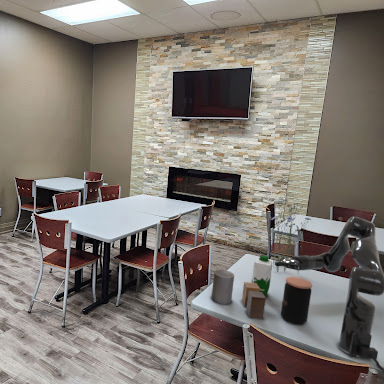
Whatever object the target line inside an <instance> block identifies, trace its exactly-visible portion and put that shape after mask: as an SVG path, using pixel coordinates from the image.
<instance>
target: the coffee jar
mask: <svg viewBox="0 0 384 384" xmlns="http://www.w3.org/2000/svg"><path fill="white" fill-rule="evenodd" d="M312 287H313V283H312V282H311V281H309V280H308V279H305V278H302V277H298V276H287V277H286V278H285V283H284V288H283V296H282V302H281V309H280V315H281V317H282V319H283V320H284V321H286V322H287V323H289V324H293V325H297V326H301V325H305V324H306V323H307V322H308V316H309V311H310V310H309V309H310V303H311V296H312Z"/></svg>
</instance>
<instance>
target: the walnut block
mask: <svg viewBox="0 0 384 384" xmlns="http://www.w3.org/2000/svg"><path fill="white" fill-rule="evenodd" d="M266 299H267V297H266V298H265V296H264V294H263V293H262V292H255V291H249V293H248V301H247V307H246V314H247V315H248V318H251V319H258V320H259V319H260V320H264V315H265V308H266Z"/></svg>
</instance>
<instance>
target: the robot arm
mask: <svg viewBox="0 0 384 384" xmlns="http://www.w3.org/2000/svg"><path fill="white" fill-rule="evenodd" d="M349 236H351V237H353V238H356V240H355V241H353V242H352V244H351V246H350V242H349ZM350 247H351V248H350ZM350 249H351V258H352V260H353V261H354V262H355V263H356V264H357V265H358V266H353V267H351V269H350V272H349V279H348V288H347V296H346V302H345V307H344V312H343V317H342V324H341V329H340V334H339V335H340V336H339V342H338V345H337V346H338V349H339V350H341V351H342V352H343V353H345V354H346V355H348V356H349V357H350V358H351V357H352V358H360V359H367V360H369V359H370V360H372V361H374V363H375V365H376V366H377V367H378V368H379V369H380V370H381V371H382V372H384V368H383V367H382V365H381V364H380V363H379V361H378V359H377V358H378V354H379V351H378V350H377V349H376V348H375V347H371V343H372V338H373V336H372V330H373V324H374V320H375V316H376V315H375V314H376V305H375V304H374V303H373V302H372V301H370V300H368V299H366V298H365V297H363V296H361V295H360V293H361V294H365V295H368V296H369V295H370V296H375V297H379V296H382V295H383V294H384V271H383V268H382V265H381V263H380V255H379V249H378V246H377V240H376V225H375V223H374V222H372V221H369V220H367V219H364V218H361V217H358V216H356V215H355V216H351V217H350V218H349V219H348V220H347V221H346V222H345V224H344V226H343V228H342V229H341V231H340V234H339V236H338V237H337V240H336V241H335V243H333V245H332V247H331V248H330V249H329V251H326V252H323V253H321V254H318V255H294V256H293V257H292V258H289V259H286V256H284V257H282V258H281V257H280V258H279V260H280V261H278V260H276V262H275V261H274V267H276V266H278V267H283V268H284V267H286V269H289V270H295V271H298V270H299V271H311V270H321V269H323V268H325V270H326V271H328V272H329V273H335V272H337V271H338V270H340V269H341V267H342V264H343V262H344V261H343V260H344V258H345V257H346V256H347V255H348V253H349V252H350Z"/></svg>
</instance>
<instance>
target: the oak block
mask: <svg viewBox="0 0 384 384" xmlns="http://www.w3.org/2000/svg"><path fill="white" fill-rule="evenodd" d="M249 291H255V292H259V291H260V288H259V286H258V285H257V283H252V282H249V281H243V287H242V295H241V302H242V305H243V307H245V308H247V301H248V293H249Z"/></svg>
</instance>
